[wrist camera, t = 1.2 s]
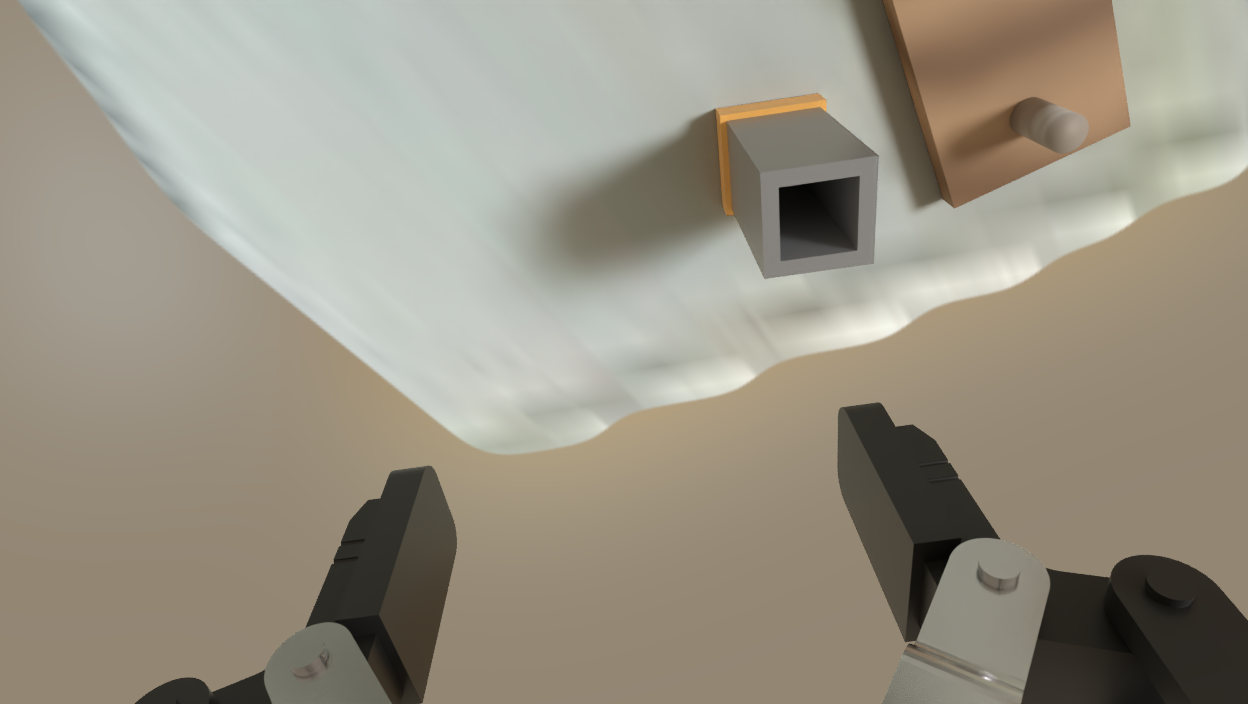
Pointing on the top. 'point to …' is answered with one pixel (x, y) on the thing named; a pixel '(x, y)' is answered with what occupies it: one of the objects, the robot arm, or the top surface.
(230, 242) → the top surface
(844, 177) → the sleeve
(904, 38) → the pinboard
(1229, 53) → the top surface
